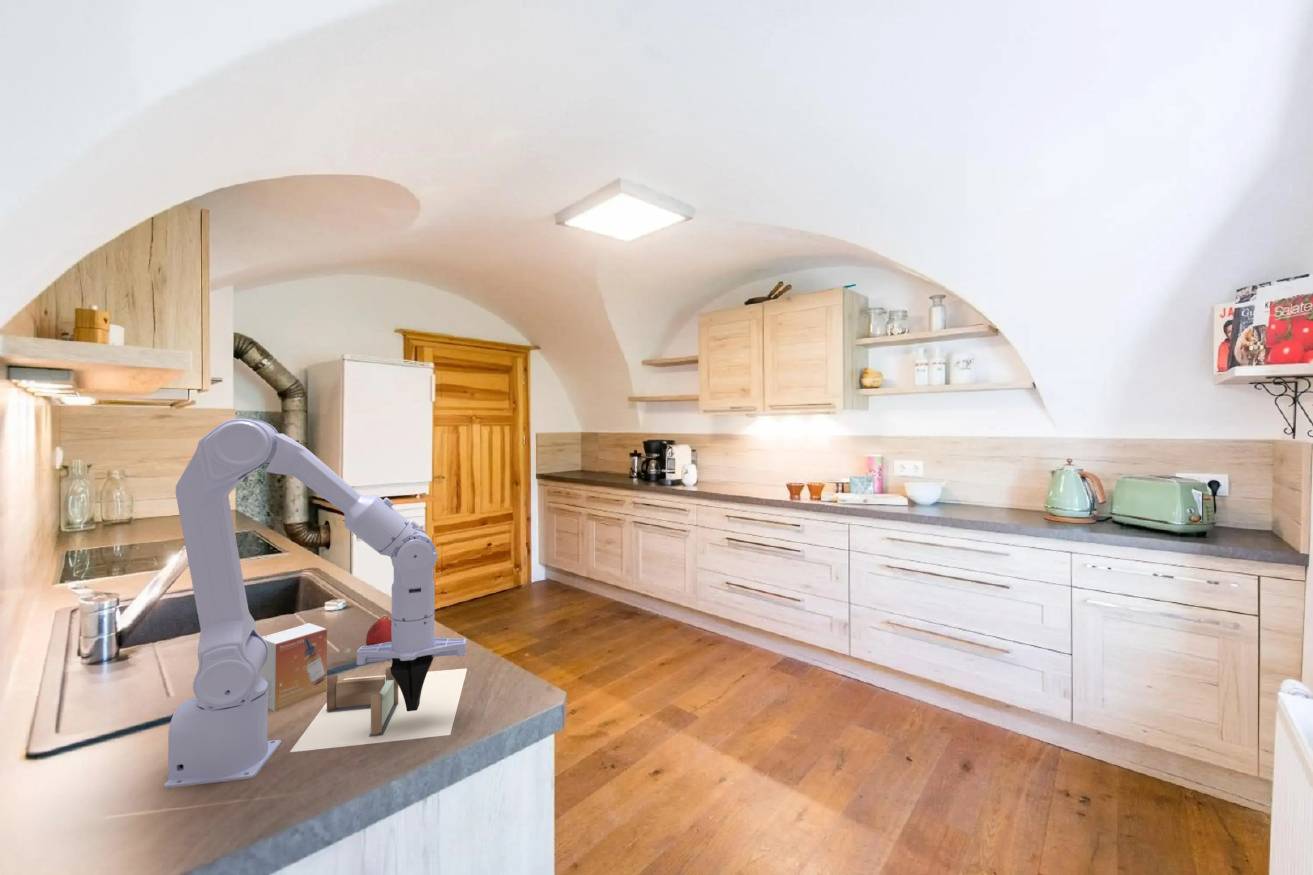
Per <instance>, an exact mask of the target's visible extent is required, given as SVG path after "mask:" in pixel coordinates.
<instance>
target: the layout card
mask: <svg viewBox="0 0 1313 875" xmlns="http://www.w3.org/2000/svg"><path fill="white" fill-rule="evenodd" d="M467 671H468V668H467V667H466V668H457V669H456V668H455V669H446V670H445V669H444V670H434V671H433V670H432V671H430V670H429V671H428V672H427V674H426V677H425V680H424V683H423V687H422V691H421V696H420V704H419V707H418V709H417V710H416V711H407V709H406V704H405V700H404V697H403V694H402V691H401V689H400V687H399V685H398V704H397V705H395V706H392V708H391V710H390V712H389V714H388V716H387V718H386V720H385V722H384V724H383V727H382V731H381V732H380V733H378V734H371V704H368V705H357V706H346V707H337V709H336V710H335V711H331V712H329V711H328V712H327V702H326V703H324V705H323V707H322V708H321V709H320V711H319V712H318V713H317V714H316V716H315V717H314V718H313V719H312V721H311V723H310V724H309V725H308V727H307V728H306V729H305V731H304V732H303V733H302V734H301V736H300V737H299V739H298V740H297V741H296V742H295V744H294V745H293V747H292V748H291V749H290V751H289V753H296V752H297V753H299V752H307V751H308V752H309V751H316V750H317V751H318V750H326V749H333V748H335V749H337V748H344V747H352V746H353V747H355V746H364V745H370V744H371V745H372V744H380V743H389V742H401V741H408V740H409V741H411V740H417V739H427V738H436V737H444V736H451V734H452V730H453V726H454V722H455V718H456V714H457V710H458V706H459V703H460V698H461V695H462V691H463V687H464V682H465V680H466V675H467ZM383 676H385V683H386V674H383V675H373V676H372V675H370V676H361V677H349V678H344V679H343V680H347V679H359V678H371V677H383Z"/></svg>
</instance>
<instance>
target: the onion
mask: <svg viewBox="0 0 1313 875" xmlns="http://www.w3.org/2000/svg"><path fill="white" fill-rule="evenodd" d="M387 642H392V619H391V620H390V619H389V615H388V614H383V615H381V617H380V618H379V619H378V620H377V621H376V622H374V623H373V625H371V627H370V628H369V629H368V631H367V633H366V637H365V646H370V645H376V644H381V643H387Z"/></svg>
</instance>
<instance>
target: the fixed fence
mask: <svg viewBox="0 0 1313 875" xmlns="http://www.w3.org/2000/svg"><path fill="white" fill-rule="evenodd" d="M390 668H391V666H389V667H387V668H386V669H385V675H386V681H387V680H394V704H393V706H395V705H397V704H398V683H397V682H396V680H395V678H394V677H393V676H392V674H391V671H390ZM338 677H339V676H338V674H331V675H328V676H327V688H326V703H327V712H328V711H329V712H331V711H335V710H336V709H337V707H346V706H357V705H368V704H371V696H372V695H373V694H377V693H380V692H381V690H382V688H383V686H384V685H385V676H383V677H371V678H359V679H347V680H344V679H339V680H338Z"/></svg>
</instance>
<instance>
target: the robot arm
mask: <svg viewBox="0 0 1313 875" xmlns="http://www.w3.org/2000/svg"><path fill="white" fill-rule="evenodd" d="M266 464H268V465H267V467H266V469H265V471H264V472H266V473H271V474H279V475H282V476H289V477H290V476H291V477H294V478H295V479H297V480H298V481H300V482H301V483H302V484H304V485H305V486H306V487H308V488H309V489H311V490H312V491H313V492H314V493H316V494H317V495H318V496H320V497H321V498H323V499H325V501H326V502H328V503H330V504H331V505H332V506H334V507H335V508H337V509H338V510H339V511H340V512H342V513H343V515H344V527H345V528H346V529H347V530H348V531H349V532H351V533H352V534H353V535H355V536H356V537H358V538H359V539H360V540H362V541H363V542H364V543H365V544H367V545H368V546H369V547H370V548H372V549H373V550H374V551H376V552H377V553H379V555H381V556H387V557H390V560H391V564H392V567H393V582H392V584H391V621H392V642H387V643H381V644H376V645H370V646H366V645H363V646H360V647H359V648H358V649H357V651H356V665H357V666H361V665H366V664H367V663H375V662H376V663H377V662H388V661H390V662H391V666H390V667H391V668H390V671H391V674H392V676H393V677H394V678H395V680H396V682H397V683H398V685H399V687H400V689H401V691H402V694H403V697H404V700H405V704H406V709H407V711H416V710H417V709H418V707H419V704H420V696H421V691H422V687H423V683H424V680H425V677H426V674H427V672H429V671H430V667H431V665H432V663H433V660H434V658H436V657H437V658H438V657H449V656H457V657H465V656H466V653H467V638H448V637H446V638H444V637H442V638H441V637H435V610H436V609H435V603H436V602H435V599H436V598H435V595H436V594H435V584H436V583H435V580H434V575H435V570H434V567H435V566H436V563H437V561H438V558H439V554H438V553H437V549H436V546H435V544H434V542H433V541H432V539H431V537H430V536H429V535H428V534H427V533H426V531H425V530H423V529H422V528H419V527H420V526H419V524H418V523H417V522H416V521H414V520H413V521H412V522H411V521H410V520H408V519H407V518H405V516H403V515H402V514H401V513H400V512H399V511H397V510H396V509H394V508H393V506H394V502H393V501H392V500H391V499H389V498H388V497H385V498H384V499H383V498H381V497H380V496H379V495H376V494H375V495H374V494H373V495H372V494H371V495H362V494H361V493H359V492H358V491H357V490H356V489H354V488H353V487H352V486H351V485H350V484H349V483H348V482H346V481H345V480H344V479H343V478H342V477H341V476H339V475H338V474H337V473H336V472H334V470H332V469H331V468H330V467H329V466H328V465H327V464H325V463H324V461H322V460H321V459H320V458H319V457H317V456H316V454H314V453H313V452H312V451H310V450H309V449H308V448H306V447H305V446H303V445H302V444H301V443H300V442H297V441H296V440H294V439H293V438H291V437H290V436H288V435H286V434H285V433H280V432H278V430H277V429H276V427H274V426H273V425H272V424H270V423H268V422H266V421H263V420H260V419H248V418H233V419H232V418H231V419H229V420H226V421H224V422H222V423H220V424H219V425H217V426H216V427H214V428H213V429H211V431H209V432H208V433H207V434H206V435H204V436H203V437H202V438H201V439H199V440H198V443H197V447H196V450H195V451H194V453H193V455H192V457H191V459H190V460H189V462H188V464H187V465H186V467H185V469H184V471H183V472H182V474H181V476H180V478H179V479H178V481H177V483H176V485H175V497H176V502H177V508H178V514H179V519H180V524H181V530H182V536H183V539H184V546H185V550H186V558H187V562H188V567H189V573H190V578H191V579H190V580H191V584H192V591H193V596H194V601H195V606H196V607H195V608H196V610H197V611H196V613H197V616H198V622H199V628H200V634H199V639H198V647H197V658H198V669H197V671H196V674H195V676H194V678H193V682H192V689H193V694H194V695H195V696H194V697H191V698H186V699H184V700H183V701H181V703H180V704H179V705H178V706H177V707H176V709H175V711H174V713H173V715H172V717H171V720H170V724H169V728H168V743H167V744H168V746H167V748H168V749H167V750H168V753H167V755H168V758H167V759H168V761H167V762H168V764H167V765H168V768H167V770H168V772H167V773H168V774H167V778H168V780H167V781H166V782H165V783H164V784H163V785H164V786H163V787H164V788H165V789H170V788H179V787H188V786H197V785H205V784H213V783H223V782H224V783H225V782H229V781H231V782H232V781H241V780H247V779H252V778H255V777H256V776H257V775H258V773H259V772H260V771H261V769H263V767H264V766H265V764H266V763H267V762H268V761H269V759H270V758H271V757H272V755H273V754H274V753H275V751H276V750H278V748H279V747H280V746H281V744H282V740H280V739H275V740H274V739H273V740H269V709H268V683H267V681H266V680H265V679H264V678H263V677H262V675H261V674H260V671H261V668H262V666H263V665H264V663H265V662H266V660H267V657H268V651H269V649H268V645H267V643H266V641H265V640H264V639H263V638H262V637H261V636H262V635H260V633H259V632H258V629H257V627H256V623H255V619H254V618H253V616H252V614H251V613H250V610H249V605H248V598H247V593H246V587H245V582H244V577H243V571H242V565H241V560H240V553H239V548H238V543H237V537H236V532H235V531H236V530H235V526H234V520H233V514H232V509H231V504H230V498H229V495H230V494H231V493H232V491H233V490H234V489H236V488H237V486H239V484H241V483H242V482H243V480H244V479H245V478H247V476H248V475H249V474H251V473H252V472H254V471H256V470H258V469H260V468H261V467H263V466H265V465H266Z"/></svg>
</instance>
